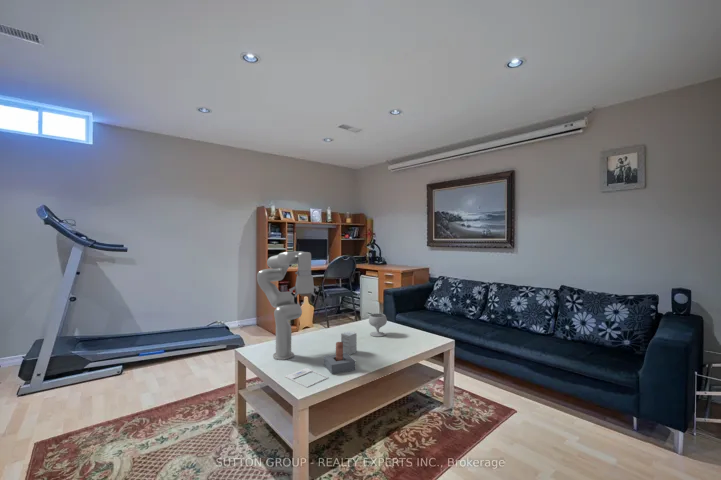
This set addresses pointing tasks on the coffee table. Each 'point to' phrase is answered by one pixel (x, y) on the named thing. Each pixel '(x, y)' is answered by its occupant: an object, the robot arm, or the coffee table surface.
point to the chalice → (377, 323)
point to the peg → (339, 351)
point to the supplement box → (349, 342)
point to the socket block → (339, 364)
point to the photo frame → (301, 373)
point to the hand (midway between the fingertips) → (304, 303)
